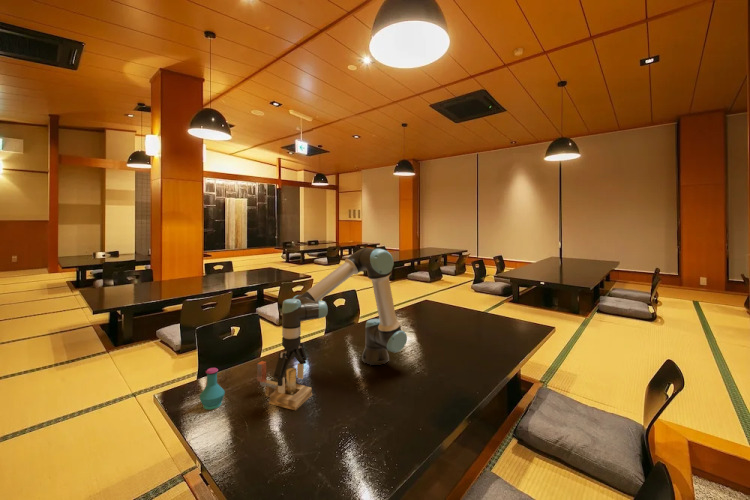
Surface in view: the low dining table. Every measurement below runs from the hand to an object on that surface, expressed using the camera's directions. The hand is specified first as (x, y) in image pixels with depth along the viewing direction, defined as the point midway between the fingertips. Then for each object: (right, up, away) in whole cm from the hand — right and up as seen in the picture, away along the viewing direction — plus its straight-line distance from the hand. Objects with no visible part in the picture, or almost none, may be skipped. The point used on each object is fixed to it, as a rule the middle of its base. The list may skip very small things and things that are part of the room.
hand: (291, 385), depth 137 cm
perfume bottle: (-31, -6, -5) cm, 32 cm away
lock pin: (-10, -2, +4) cm, 11 cm away
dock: (-3, -6, +1) cm, 7 cm away
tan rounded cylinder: (0, -5, 0) cm, 5 cm away
